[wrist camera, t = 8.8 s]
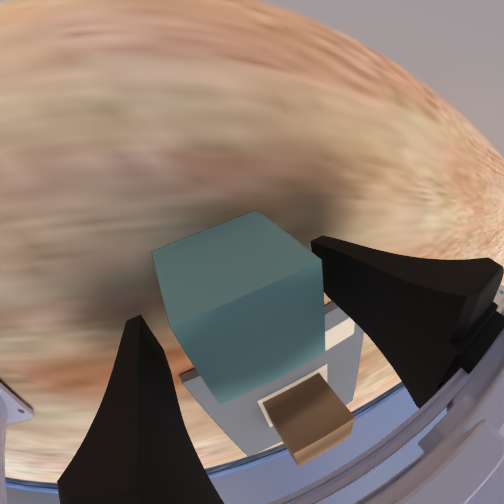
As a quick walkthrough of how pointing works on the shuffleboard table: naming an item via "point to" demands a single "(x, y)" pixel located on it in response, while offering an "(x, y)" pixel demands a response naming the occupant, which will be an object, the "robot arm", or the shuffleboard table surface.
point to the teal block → (243, 303)
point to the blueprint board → (285, 385)
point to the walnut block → (309, 418)
